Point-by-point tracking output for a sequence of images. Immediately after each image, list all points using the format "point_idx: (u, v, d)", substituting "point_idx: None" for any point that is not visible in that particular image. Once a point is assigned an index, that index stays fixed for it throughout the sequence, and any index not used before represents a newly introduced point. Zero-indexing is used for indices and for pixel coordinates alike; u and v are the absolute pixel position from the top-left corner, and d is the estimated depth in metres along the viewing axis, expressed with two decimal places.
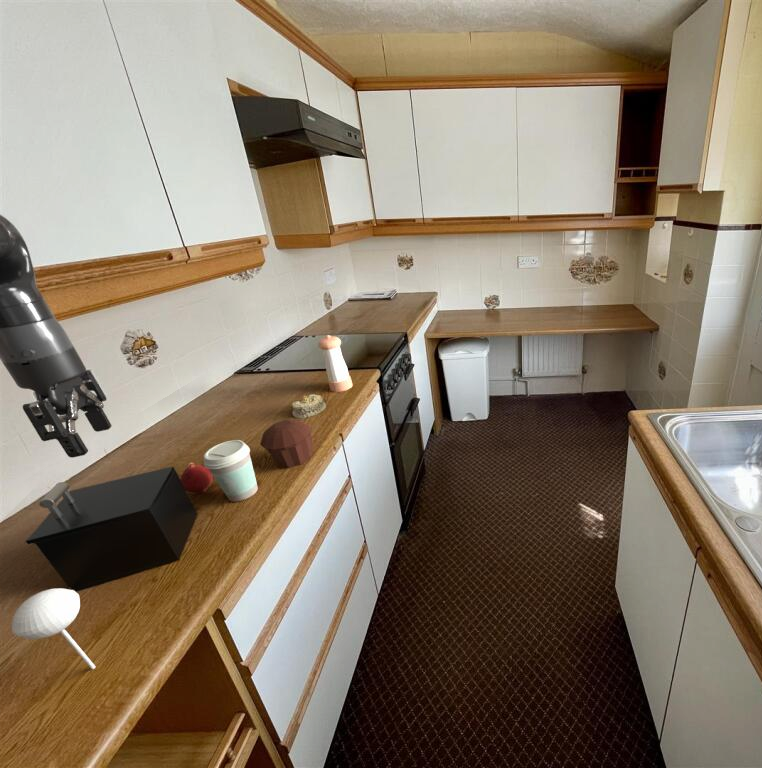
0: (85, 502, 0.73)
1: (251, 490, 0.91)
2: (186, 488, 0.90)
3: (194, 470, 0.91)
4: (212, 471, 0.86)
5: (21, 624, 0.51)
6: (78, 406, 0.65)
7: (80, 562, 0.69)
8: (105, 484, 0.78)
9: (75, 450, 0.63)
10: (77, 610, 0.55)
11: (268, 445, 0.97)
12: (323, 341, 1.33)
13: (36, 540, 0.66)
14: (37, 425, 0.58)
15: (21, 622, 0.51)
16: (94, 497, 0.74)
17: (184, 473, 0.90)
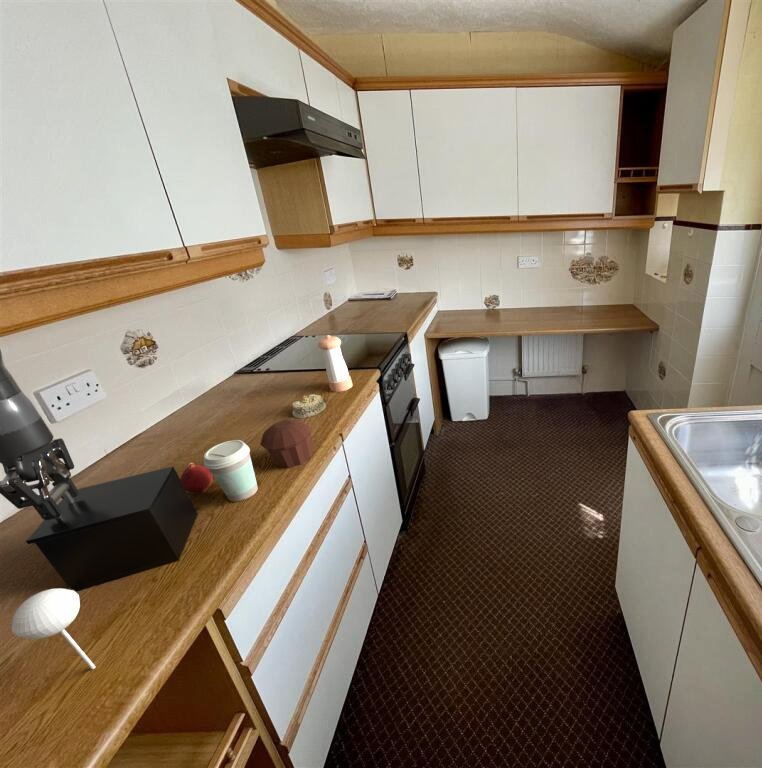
0: (85, 502, 0.73)
1: (251, 490, 0.91)
2: (186, 488, 0.90)
3: (194, 470, 0.91)
4: (212, 471, 0.86)
5: (21, 624, 0.51)
6: (46, 472, 0.68)
7: (80, 562, 0.69)
8: (105, 484, 0.78)
9: (50, 514, 0.68)
10: (77, 610, 0.55)
11: (268, 445, 0.97)
12: (323, 341, 1.33)
13: (36, 540, 0.66)
14: (11, 499, 0.63)
15: (21, 622, 0.51)
16: (94, 497, 0.74)
17: (184, 473, 0.90)
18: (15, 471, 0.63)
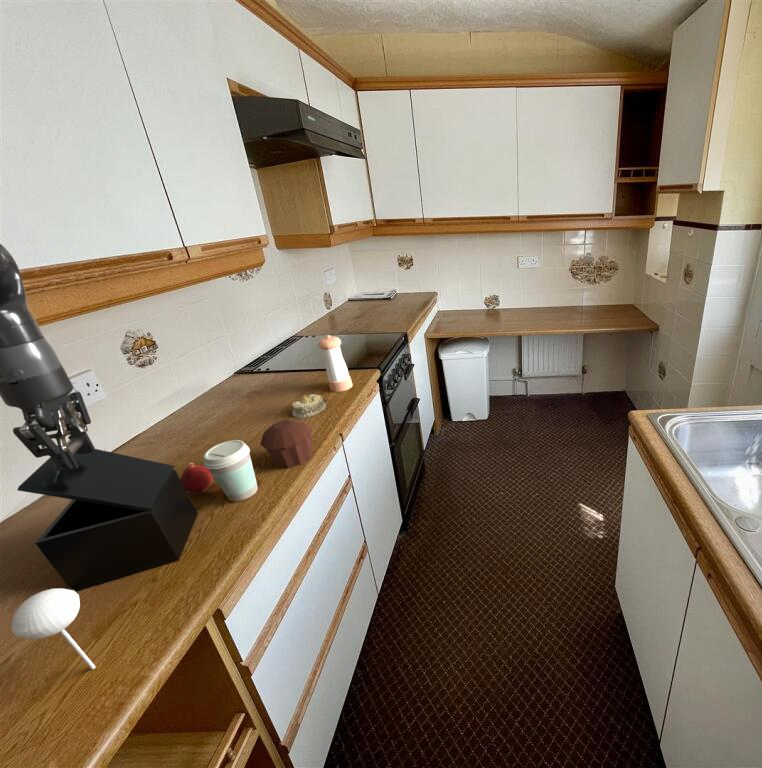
0: (83, 467, 0.71)
1: (251, 490, 0.91)
2: (186, 488, 0.90)
3: (194, 470, 0.91)
4: (212, 471, 0.86)
5: (21, 624, 0.51)
6: None
7: (80, 562, 0.69)
8: (104, 453, 0.76)
9: (66, 466, 0.66)
10: (77, 610, 0.55)
11: (268, 445, 0.97)
12: (323, 341, 1.33)
13: (28, 490, 0.63)
14: (30, 446, 0.61)
15: (21, 622, 0.51)
16: (93, 465, 0.72)
17: (184, 473, 0.90)
18: (35, 418, 0.62)
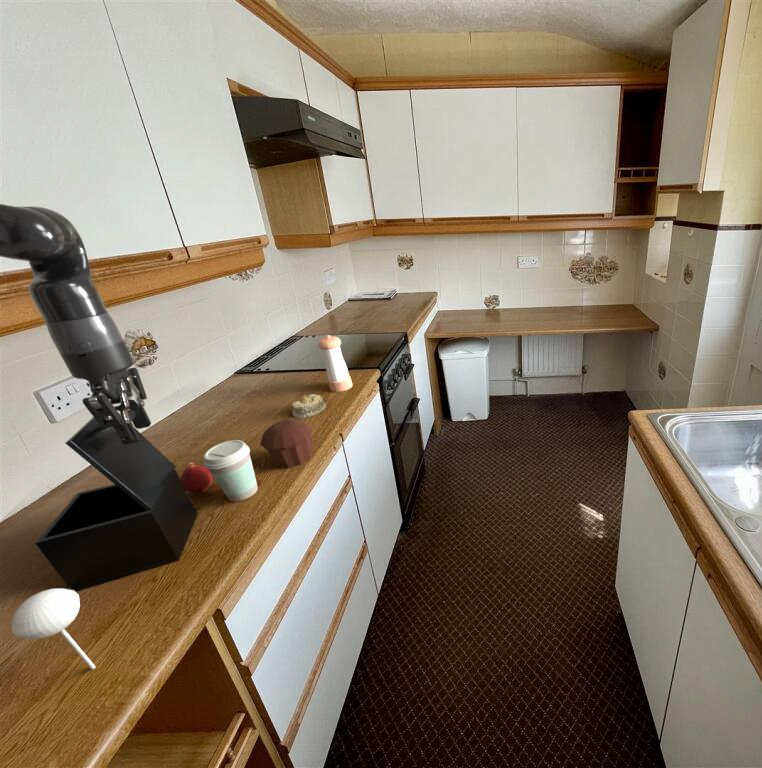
0: (116, 438, 0.71)
1: (251, 490, 0.91)
2: (186, 488, 0.90)
3: (194, 470, 0.91)
4: (212, 471, 0.86)
5: (21, 624, 0.51)
6: None
7: (80, 562, 0.69)
8: None
9: (129, 437, 0.68)
10: (77, 610, 0.55)
11: (268, 445, 0.97)
12: (323, 341, 1.33)
13: (74, 447, 0.63)
14: (97, 416, 0.63)
15: (21, 622, 0.51)
16: None
17: (184, 473, 0.90)
18: (101, 389, 0.64)
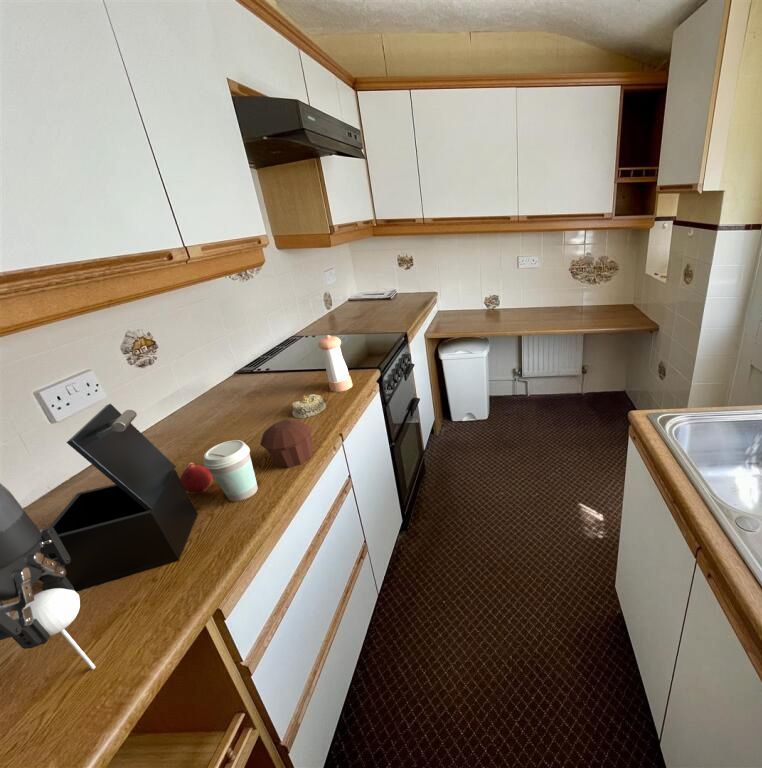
0: (117, 438, 0.71)
1: (251, 490, 0.91)
2: (186, 488, 0.90)
3: (194, 470, 0.91)
4: (212, 471, 0.86)
5: None
6: (31, 582, 0.51)
7: (80, 562, 0.69)
8: (133, 429, 0.76)
9: (33, 642, 0.50)
10: (77, 610, 0.55)
11: (268, 445, 0.97)
12: (323, 341, 1.33)
13: (75, 446, 0.63)
14: None
15: None
16: (123, 439, 0.73)
17: (184, 473, 0.90)
18: None
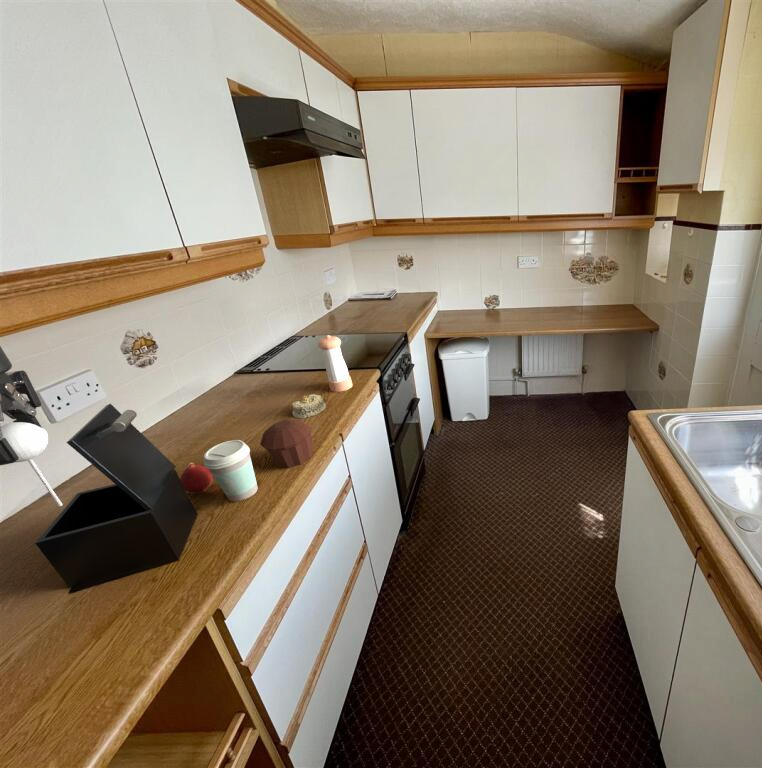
0: (117, 438, 0.71)
1: (251, 490, 0.91)
2: (186, 488, 0.90)
3: (194, 470, 0.91)
4: (212, 471, 0.86)
5: None
6: (2, 407, 0.57)
7: (80, 562, 0.69)
8: (133, 429, 0.76)
9: (2, 457, 0.56)
10: (45, 443, 0.61)
11: (268, 445, 0.97)
12: (323, 341, 1.33)
13: (75, 446, 0.63)
14: None
15: None
16: (123, 439, 0.73)
17: (184, 473, 0.90)
18: None
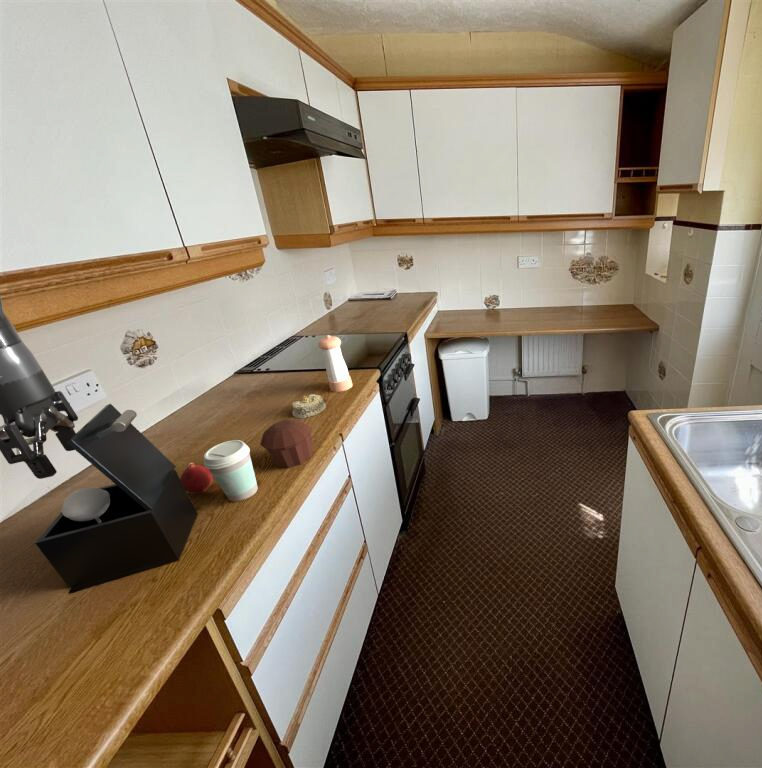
0: (117, 438, 0.71)
1: (251, 490, 0.91)
2: (186, 488, 0.90)
3: (194, 470, 0.91)
4: (212, 471, 0.86)
5: (69, 508, 0.69)
6: (47, 428, 0.66)
7: (80, 562, 0.69)
8: (133, 429, 0.76)
9: (43, 472, 0.64)
10: (108, 503, 0.74)
11: (268, 445, 0.97)
12: (323, 341, 1.33)
13: (75, 446, 0.63)
14: (3, 449, 0.60)
15: (69, 506, 0.69)
16: (123, 439, 0.73)
17: (184, 473, 0.90)
18: (15, 423, 0.61)
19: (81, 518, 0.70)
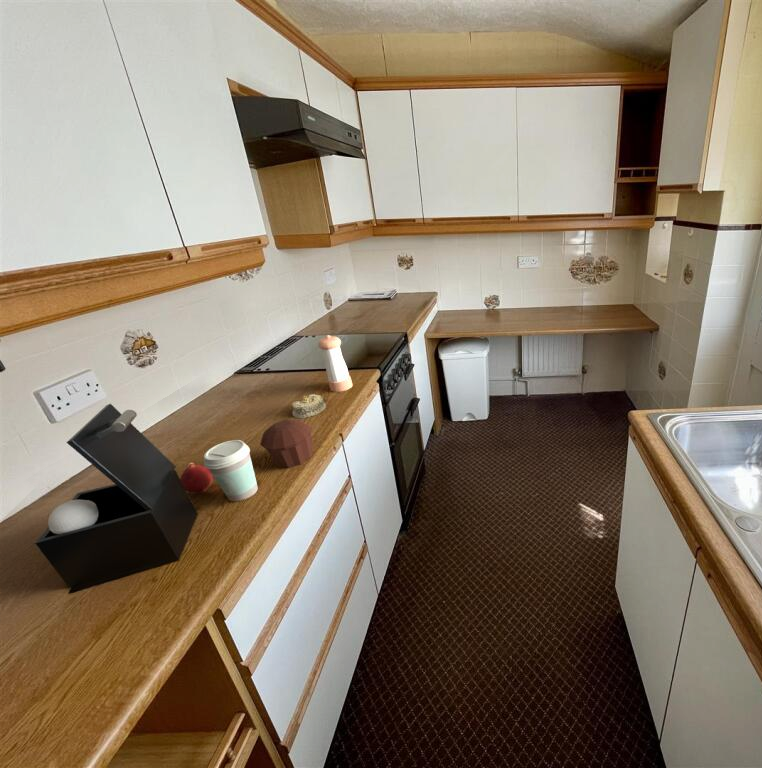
0: (117, 438, 0.71)
1: (251, 490, 0.91)
2: (186, 488, 0.90)
3: (194, 470, 0.91)
4: (212, 471, 0.86)
5: (55, 526, 0.67)
6: None
7: (80, 562, 0.69)
8: (133, 429, 0.76)
9: None
10: (96, 515, 0.71)
11: (268, 445, 0.97)
12: (323, 341, 1.33)
13: (75, 446, 0.63)
14: None
15: (55, 525, 0.67)
16: (123, 439, 0.73)
17: (184, 473, 0.90)
18: None
19: None
